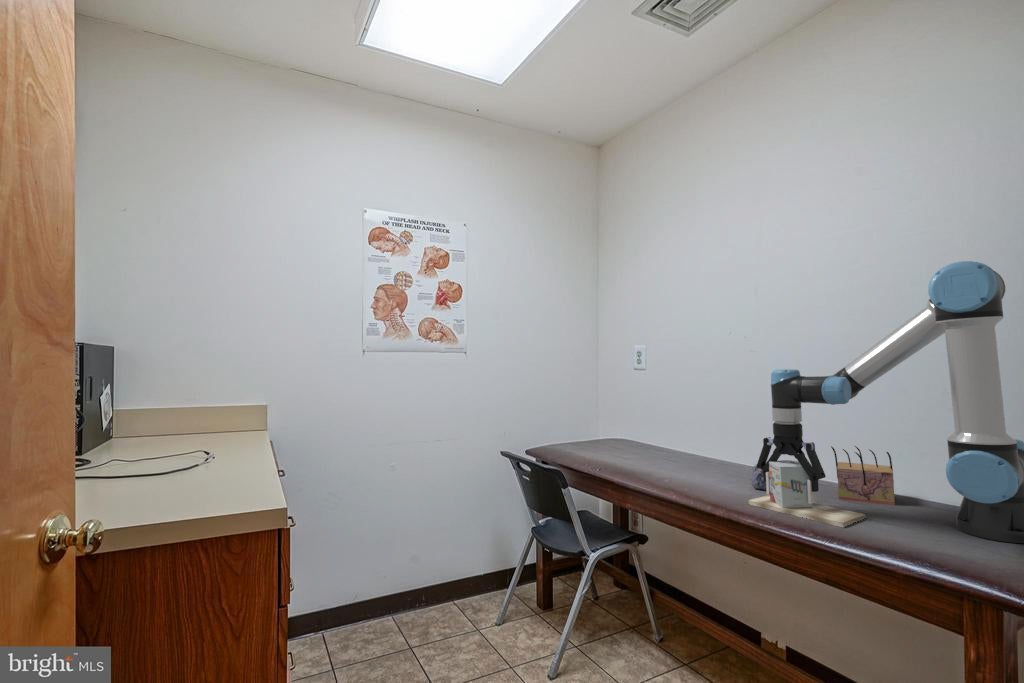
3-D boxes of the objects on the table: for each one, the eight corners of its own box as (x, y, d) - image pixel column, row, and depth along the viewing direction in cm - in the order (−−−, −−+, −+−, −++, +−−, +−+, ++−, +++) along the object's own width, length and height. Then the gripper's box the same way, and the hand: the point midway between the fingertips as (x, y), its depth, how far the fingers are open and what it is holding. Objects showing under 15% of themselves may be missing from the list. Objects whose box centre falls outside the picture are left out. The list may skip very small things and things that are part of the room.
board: (865, 518, 135) (865, 514, 135) (843, 527, 128) (842, 522, 128) (771, 497, 157) (771, 493, 157) (748, 504, 150) (748, 500, 151)
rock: (792, 484, 162) (773, 456, 165) (762, 499, 163) (744, 470, 167) (786, 484, 172) (768, 457, 175) (757, 497, 173) (740, 470, 177)
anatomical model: (893, 496, 155) (891, 447, 156) (896, 505, 146) (894, 453, 147) (833, 490, 164) (831, 444, 165) (832, 498, 155) (830, 449, 155)
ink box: (769, 499, 150) (767, 459, 151) (799, 499, 150) (797, 459, 150) (781, 508, 142) (779, 465, 142) (813, 508, 141) (811, 465, 142)
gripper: (837, 425, 139) (841, 505, 138) (756, 418, 159) (759, 487, 158) (823, 427, 135) (827, 510, 134) (742, 420, 155) (745, 491, 154)
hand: (790, 498), depth 146 cm, fingers closed on ink box, 11 cm apart
